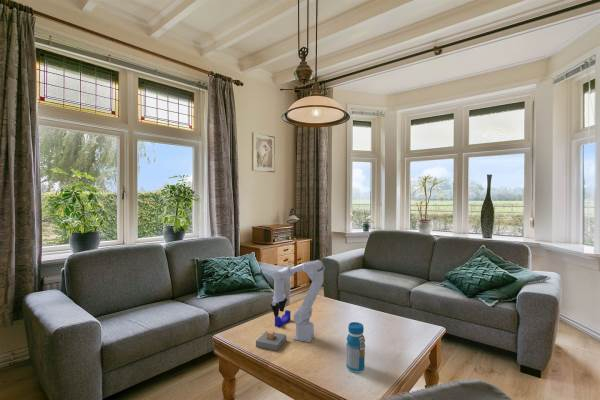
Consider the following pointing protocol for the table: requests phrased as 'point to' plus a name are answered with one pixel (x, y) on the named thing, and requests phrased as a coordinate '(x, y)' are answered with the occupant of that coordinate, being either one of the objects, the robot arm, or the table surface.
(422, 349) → the table surface
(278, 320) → the cable clip
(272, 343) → the socket block
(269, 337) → the plug peg
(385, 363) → the table surface
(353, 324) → the beverage bottle
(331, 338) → the table surface
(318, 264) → the robot arm
